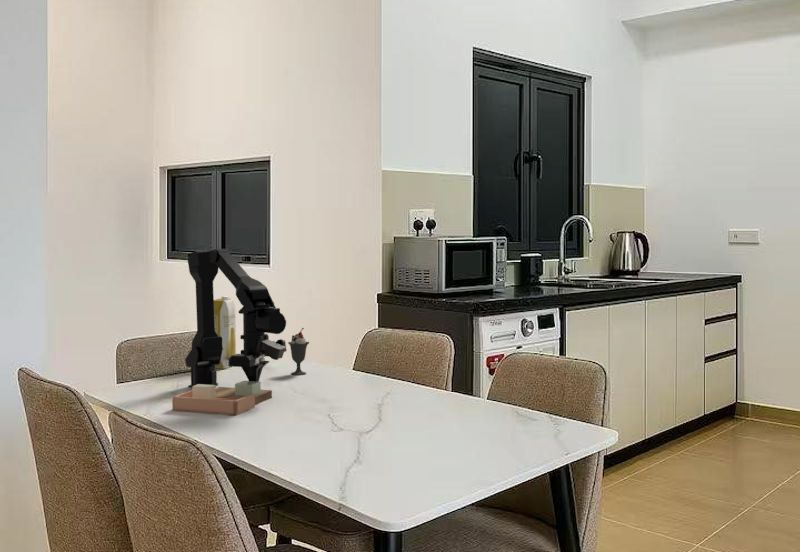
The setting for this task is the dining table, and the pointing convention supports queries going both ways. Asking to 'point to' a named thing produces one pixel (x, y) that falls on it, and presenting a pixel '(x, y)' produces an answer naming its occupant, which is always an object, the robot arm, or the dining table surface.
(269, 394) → the board
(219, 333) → the juice carton
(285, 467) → the dining table surface
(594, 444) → the dining table surface
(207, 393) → the ivory rectangular block
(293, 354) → the sundae
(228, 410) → the tray
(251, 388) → the sage green square block
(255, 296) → the robot arm
